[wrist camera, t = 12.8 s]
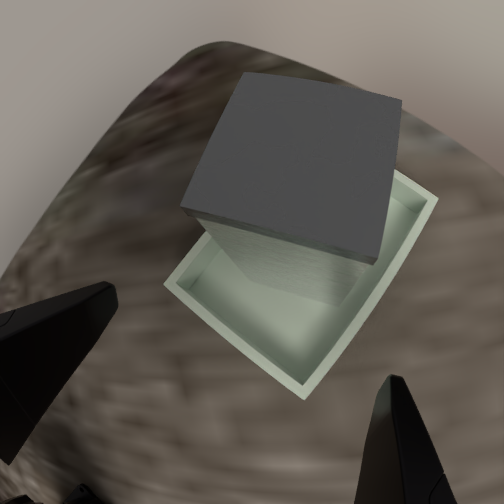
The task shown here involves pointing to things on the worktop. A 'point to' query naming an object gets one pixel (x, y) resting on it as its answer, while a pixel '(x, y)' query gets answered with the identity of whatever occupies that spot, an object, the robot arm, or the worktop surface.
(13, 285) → the worktop surface
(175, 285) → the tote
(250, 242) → the tin
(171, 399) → the worktop surface
